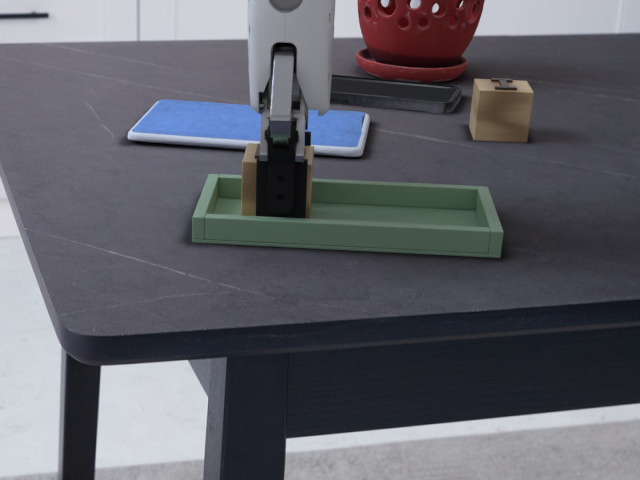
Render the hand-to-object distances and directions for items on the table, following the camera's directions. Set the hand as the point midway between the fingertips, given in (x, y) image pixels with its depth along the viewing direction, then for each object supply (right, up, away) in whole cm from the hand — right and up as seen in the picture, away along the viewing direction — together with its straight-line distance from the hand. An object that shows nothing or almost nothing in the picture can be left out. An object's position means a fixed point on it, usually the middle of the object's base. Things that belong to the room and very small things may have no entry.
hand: (283, 201), depth 77 cm
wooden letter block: (+19, +9, +23) cm, 31 cm away
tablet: (-2, +9, +21) cm, 23 cm away
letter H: (0, -1, +1) cm, 1 cm away
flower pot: (+15, +21, +44) cm, 51 cm away
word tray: (+4, -2, +1) cm, 5 cm away
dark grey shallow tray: (+10, +15, +34) cm, 39 cm away
